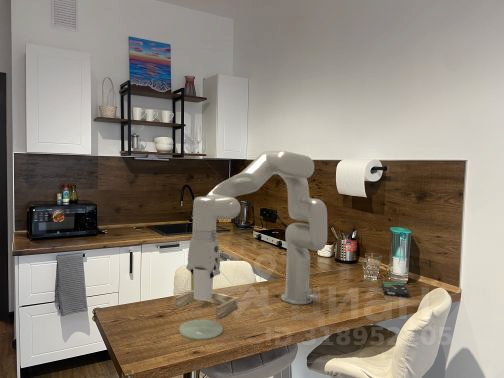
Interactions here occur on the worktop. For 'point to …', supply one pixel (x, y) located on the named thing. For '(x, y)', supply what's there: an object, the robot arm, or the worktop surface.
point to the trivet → (201, 329)
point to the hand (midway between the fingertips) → (202, 290)
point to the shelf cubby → (223, 300)
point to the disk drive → (395, 289)
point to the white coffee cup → (202, 284)
